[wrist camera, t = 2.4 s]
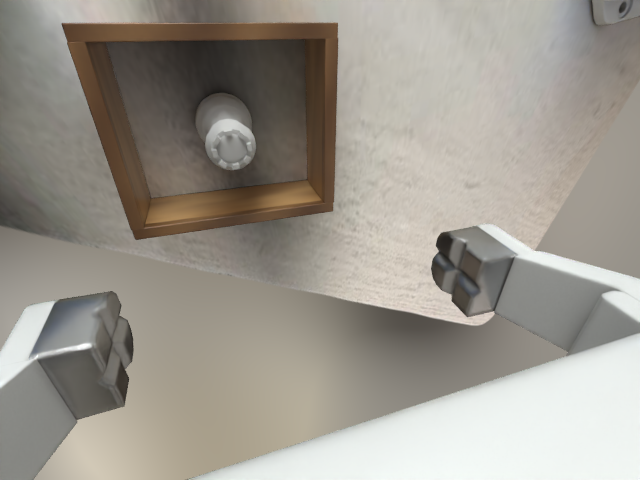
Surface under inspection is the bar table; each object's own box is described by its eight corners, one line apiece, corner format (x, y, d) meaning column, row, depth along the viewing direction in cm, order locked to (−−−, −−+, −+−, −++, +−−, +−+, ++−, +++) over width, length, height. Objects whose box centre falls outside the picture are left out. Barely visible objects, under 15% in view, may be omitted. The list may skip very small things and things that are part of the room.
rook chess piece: (224, 158, 30) (233, 196, 23) (182, 119, 27) (179, 150, 21) (262, 122, 29) (281, 151, 23) (222, 78, 27) (231, 97, 20)
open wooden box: (314, 22, 27) (338, 22, 22) (315, 186, 34) (333, 211, 30) (85, 22, 23) (59, 23, 18) (143, 208, 30) (134, 240, 26)
